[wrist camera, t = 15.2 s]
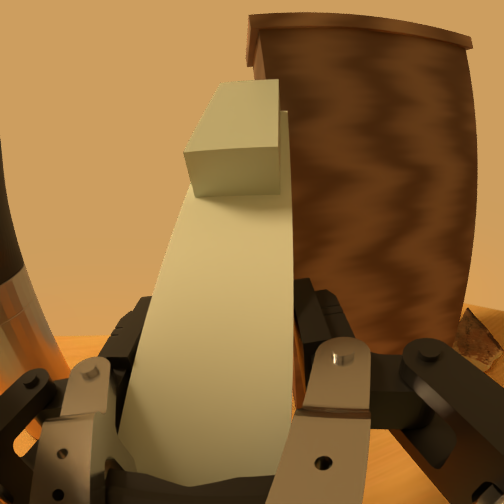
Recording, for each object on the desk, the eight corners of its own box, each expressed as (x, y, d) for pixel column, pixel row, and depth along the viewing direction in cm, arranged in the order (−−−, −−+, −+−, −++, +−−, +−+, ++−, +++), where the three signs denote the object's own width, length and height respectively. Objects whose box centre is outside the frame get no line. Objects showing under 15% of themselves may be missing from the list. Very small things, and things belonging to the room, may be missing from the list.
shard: (465, 316, 35) (467, 305, 35) (509, 331, 29) (513, 320, 29) (437, 359, 29) (441, 347, 29) (492, 380, 24) (497, 368, 23)
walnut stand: (292, 418, 26) (248, 15, 15) (280, 348, 36) (245, 57, 25) (448, 378, 26) (470, 36, 14) (408, 324, 36) (407, 58, 25)
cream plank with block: (136, 543, 5) (50, 561, 2) (223, 143, 18) (213, 83, 15) (279, 567, 5) (275, 625, 2) (288, 140, 18) (285, 78, 15)
